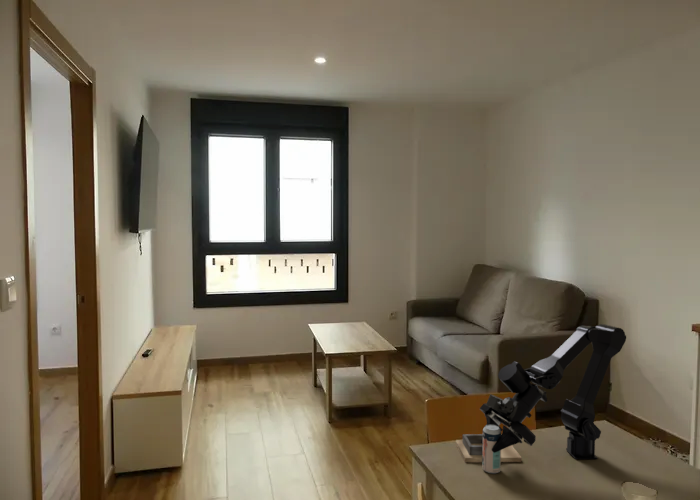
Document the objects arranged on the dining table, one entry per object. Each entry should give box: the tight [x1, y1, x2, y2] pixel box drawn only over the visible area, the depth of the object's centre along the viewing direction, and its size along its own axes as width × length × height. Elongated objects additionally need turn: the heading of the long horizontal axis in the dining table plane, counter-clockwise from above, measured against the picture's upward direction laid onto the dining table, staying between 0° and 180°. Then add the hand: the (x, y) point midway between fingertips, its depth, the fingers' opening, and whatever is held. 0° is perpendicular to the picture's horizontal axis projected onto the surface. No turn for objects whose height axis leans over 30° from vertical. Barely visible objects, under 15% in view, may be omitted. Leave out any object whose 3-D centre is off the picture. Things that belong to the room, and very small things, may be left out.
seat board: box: [455, 433, 522, 463], centre depth 151 cm, size 16×12×4 cm
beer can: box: [481, 425, 502, 475], centre depth 140 cm, size 5×5×12 cm
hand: (487, 447), depth 140 cm, fingers closed on beer can, 5 cm apart
